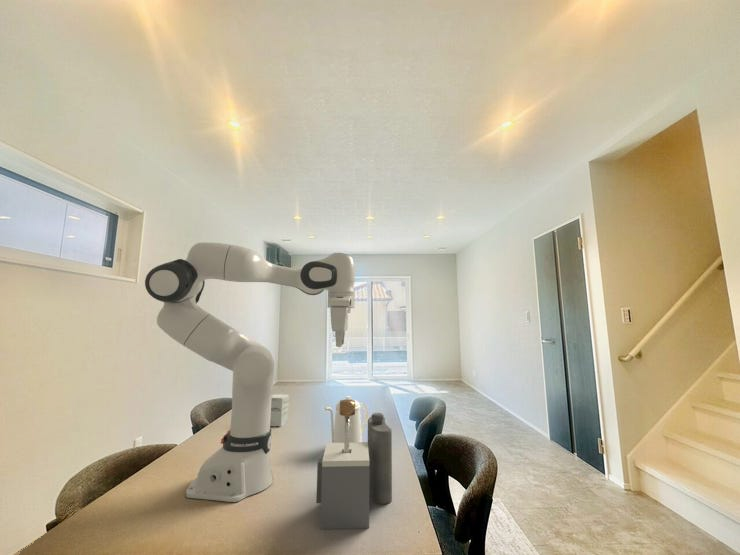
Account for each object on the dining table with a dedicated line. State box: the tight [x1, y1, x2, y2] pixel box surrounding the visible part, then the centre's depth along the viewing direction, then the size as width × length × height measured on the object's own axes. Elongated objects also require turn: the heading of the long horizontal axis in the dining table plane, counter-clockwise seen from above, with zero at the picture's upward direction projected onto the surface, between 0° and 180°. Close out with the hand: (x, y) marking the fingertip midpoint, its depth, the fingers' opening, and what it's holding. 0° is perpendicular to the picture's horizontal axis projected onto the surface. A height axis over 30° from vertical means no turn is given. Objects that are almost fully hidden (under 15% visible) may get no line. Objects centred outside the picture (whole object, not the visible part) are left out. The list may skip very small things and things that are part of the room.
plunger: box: [339, 398, 355, 453], centre depth 76 cm, size 7×7×25 cm
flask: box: [367, 412, 393, 505], centre depth 86 cm, size 15×6×20 cm, turn 7°
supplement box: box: [270, 393, 290, 428], centre depth 140 cm, size 7×7×13 cm
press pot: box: [315, 441, 370, 530], centre depth 74 cm, size 13×11×14 cm
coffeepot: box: [322, 395, 369, 443], centre depth 112 cm, size 11×25×19 cm, turn 143°
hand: (340, 345), depth 96 cm, fingers open, 8 cm apart
